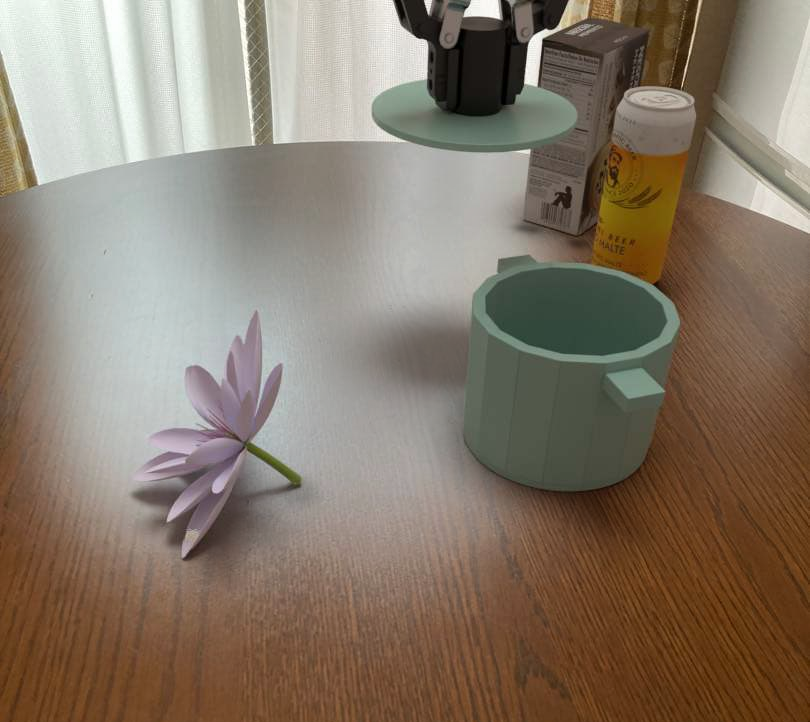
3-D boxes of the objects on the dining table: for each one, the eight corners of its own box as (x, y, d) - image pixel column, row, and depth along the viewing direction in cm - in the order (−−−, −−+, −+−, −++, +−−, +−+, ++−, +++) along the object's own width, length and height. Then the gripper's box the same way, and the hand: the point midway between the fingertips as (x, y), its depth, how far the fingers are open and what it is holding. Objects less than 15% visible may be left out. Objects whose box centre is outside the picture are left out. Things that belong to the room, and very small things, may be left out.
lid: (522, 86, 68) (531, -8, 64) (612, 150, 59) (630, 44, 55) (346, 102, 64) (344, 3, 60) (412, 172, 55) (415, 61, 51)
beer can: (575, 270, 82) (603, 89, 71) (633, 259, 83) (668, 81, 73) (613, 300, 77) (648, 113, 67) (672, 288, 79) (716, 104, 69)
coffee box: (564, 191, 95) (588, 15, 84) (621, 207, 92) (654, 27, 81) (519, 220, 89) (539, 35, 78) (578, 237, 87) (607, 49, 76)
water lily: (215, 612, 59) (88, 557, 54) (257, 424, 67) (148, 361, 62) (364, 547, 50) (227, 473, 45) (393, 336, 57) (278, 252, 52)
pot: (576, 353, 71) (596, 235, 65) (706, 495, 59) (747, 366, 52) (423, 380, 68) (428, 258, 61) (526, 536, 55) (546, 403, 49)
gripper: (395, -234, 45) (391, 134, 56) (650, -232, 48) (597, 113, 60) (350, -242, 50) (355, 96, 61) (583, -239, 54) (546, 79, 65)
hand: (474, 102), depth 61 cm, fingers closed on lid, 3 cm apart
